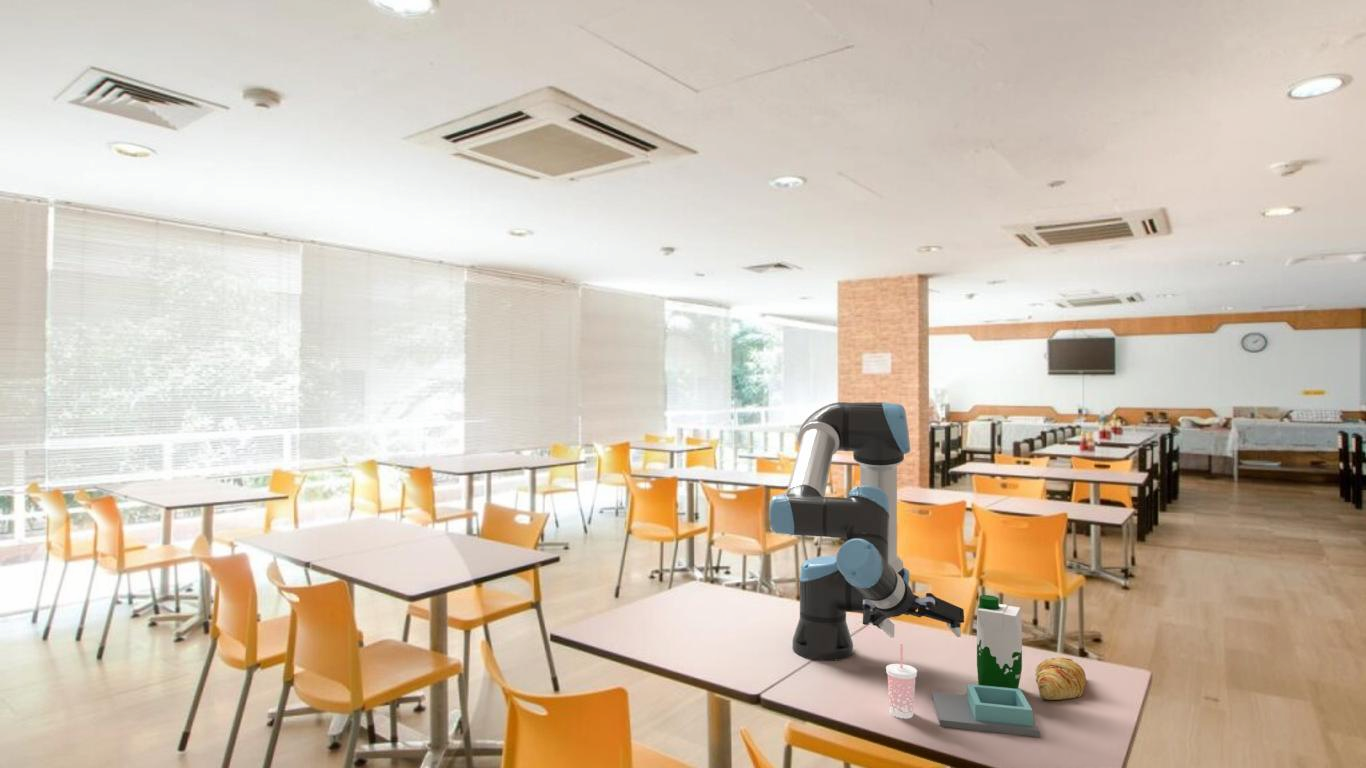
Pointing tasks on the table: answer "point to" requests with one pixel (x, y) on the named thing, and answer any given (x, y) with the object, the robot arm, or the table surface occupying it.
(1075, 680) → the croissant
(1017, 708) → the dock
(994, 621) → the milk carton
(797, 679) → the table surface
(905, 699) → the beverage cup
